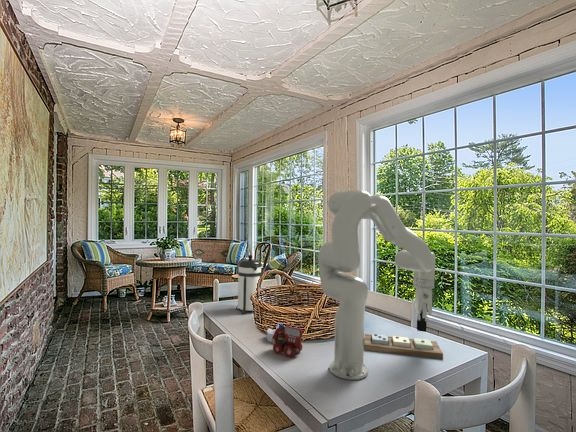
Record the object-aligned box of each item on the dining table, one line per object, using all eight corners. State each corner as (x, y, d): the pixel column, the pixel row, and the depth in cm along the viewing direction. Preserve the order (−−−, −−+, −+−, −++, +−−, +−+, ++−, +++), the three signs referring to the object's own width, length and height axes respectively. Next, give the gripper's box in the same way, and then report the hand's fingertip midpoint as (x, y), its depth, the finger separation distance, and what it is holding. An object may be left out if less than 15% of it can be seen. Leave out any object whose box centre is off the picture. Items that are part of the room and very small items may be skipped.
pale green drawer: (432, 353, 120) (432, 344, 120) (415, 351, 122) (415, 343, 122) (429, 347, 126) (429, 339, 126) (413, 345, 128) (413, 337, 128)
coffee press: (268, 308, 177) (269, 254, 177) (255, 316, 162) (256, 257, 162) (240, 304, 183) (241, 252, 183) (225, 312, 168) (226, 255, 168)
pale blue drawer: (388, 348, 124) (388, 340, 124) (372, 346, 126) (372, 338, 126) (387, 342, 130) (387, 334, 130) (371, 341, 131) (372, 333, 131)
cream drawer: (410, 351, 122) (410, 342, 122) (393, 349, 124) (393, 340, 124) (408, 345, 128) (408, 336, 128) (392, 343, 130) (392, 335, 130)
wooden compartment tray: (443, 359, 117) (443, 353, 117) (364, 349, 123) (364, 344, 123) (436, 346, 128) (436, 341, 128) (364, 338, 135) (364, 333, 135)
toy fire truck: (278, 346, 126) (279, 319, 126) (306, 353, 119) (306, 325, 119) (268, 352, 120) (268, 324, 120) (296, 360, 113) (297, 331, 113)
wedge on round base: (300, 338, 134) (271, 333, 139) (300, 322, 134) (272, 318, 139) (293, 346, 126) (263, 341, 130) (294, 328, 126) (263, 324, 130)
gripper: (438, 287, 116) (435, 338, 115) (430, 280, 130) (428, 326, 130) (416, 285, 118) (413, 335, 117) (410, 279, 132) (408, 323, 132)
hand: (421, 330), depth 124 cm, fingers closed
